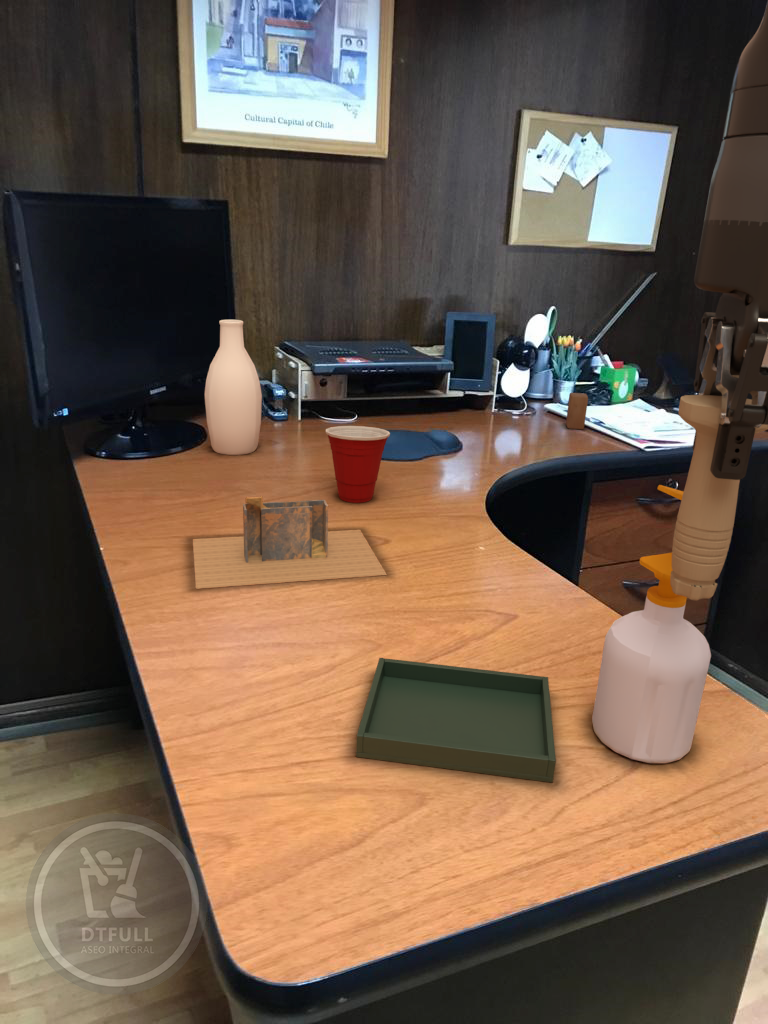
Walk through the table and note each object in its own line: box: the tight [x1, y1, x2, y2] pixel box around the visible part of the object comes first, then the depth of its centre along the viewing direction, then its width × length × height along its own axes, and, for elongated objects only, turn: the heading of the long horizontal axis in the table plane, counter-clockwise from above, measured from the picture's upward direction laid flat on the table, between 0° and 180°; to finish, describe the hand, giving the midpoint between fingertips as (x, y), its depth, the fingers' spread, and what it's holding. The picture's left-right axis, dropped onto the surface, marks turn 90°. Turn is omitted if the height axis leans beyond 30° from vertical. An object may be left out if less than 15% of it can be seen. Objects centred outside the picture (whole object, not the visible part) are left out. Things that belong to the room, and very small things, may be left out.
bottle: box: [204, 319, 263, 456], centre depth 152 cm, size 11×11×25 cm
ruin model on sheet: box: [192, 495, 388, 590], centre depth 106 cm, size 25×16×10 cm, turn 104°
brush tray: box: [355, 657, 557, 783], centre depth 73 cm, size 17×13×2 cm
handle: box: [670, 394, 768, 601], centre depth 57 cm, size 5×6×15 cm
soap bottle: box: [591, 484, 712, 764], centre depth 69 cm, size 9×9×25 cm
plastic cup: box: [325, 425, 391, 504], centre depth 131 cm, size 11×11×12 cm
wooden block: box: [565, 392, 589, 430], centre depth 185 cm, size 4×4×8 cm
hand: (716, 465), depth 56 cm, fingers closed on handle, 5 cm apart
